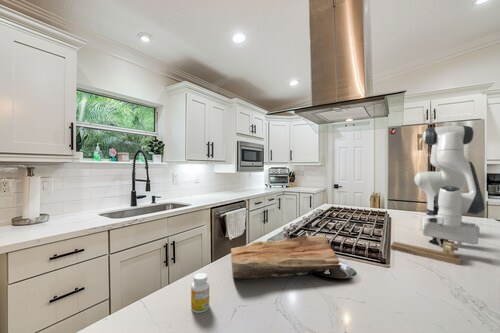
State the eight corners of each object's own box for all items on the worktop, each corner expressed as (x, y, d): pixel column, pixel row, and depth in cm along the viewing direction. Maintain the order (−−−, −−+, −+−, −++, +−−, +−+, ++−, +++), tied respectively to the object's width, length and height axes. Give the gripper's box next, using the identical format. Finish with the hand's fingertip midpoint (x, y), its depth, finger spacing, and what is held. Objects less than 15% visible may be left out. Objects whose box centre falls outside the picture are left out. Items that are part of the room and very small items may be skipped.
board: (394, 245, 124) (394, 241, 124) (459, 259, 106) (459, 255, 106) (390, 249, 118) (390, 245, 118) (459, 265, 100) (459, 260, 100)
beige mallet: (443, 251, 114) (443, 239, 114) (454, 254, 111) (454, 241, 111) (441, 259, 105) (441, 246, 105) (453, 262, 102) (453, 248, 102)
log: (328, 260, 102) (322, 227, 102) (350, 277, 85) (342, 236, 85) (234, 282, 97) (228, 246, 97) (236, 304, 79) (229, 261, 80)
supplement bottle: (192, 302, 72) (192, 271, 72) (210, 301, 72) (210, 271, 72) (189, 313, 67) (189, 280, 66) (208, 313, 67) (208, 280, 67)
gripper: (479, 223, 106) (478, 252, 106) (424, 215, 120) (423, 242, 120) (480, 225, 101) (479, 256, 102) (422, 217, 115) (421, 245, 116)
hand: (448, 248), depth 111 cm, fingers closed on beige mallet, 4 cm apart
